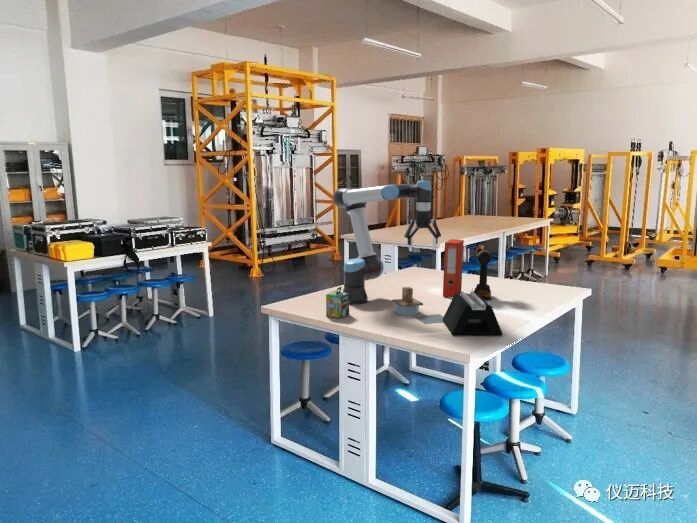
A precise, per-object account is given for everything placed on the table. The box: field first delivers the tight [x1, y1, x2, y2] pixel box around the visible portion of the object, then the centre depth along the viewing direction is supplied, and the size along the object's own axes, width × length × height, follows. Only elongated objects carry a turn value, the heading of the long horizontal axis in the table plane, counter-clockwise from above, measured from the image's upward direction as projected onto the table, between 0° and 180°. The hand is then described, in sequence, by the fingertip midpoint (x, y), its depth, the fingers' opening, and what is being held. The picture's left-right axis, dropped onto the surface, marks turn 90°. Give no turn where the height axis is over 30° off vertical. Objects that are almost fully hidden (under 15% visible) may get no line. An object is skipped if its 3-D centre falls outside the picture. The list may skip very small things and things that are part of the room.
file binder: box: [442, 238, 465, 298], centre depth 332 cm, size 8×17×32 cm, turn 159°
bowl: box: [395, 304, 420, 316], centre depth 289 cm, size 11×11×6 cm
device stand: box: [442, 290, 503, 337], centre depth 260 cm, size 22×22×15 cm
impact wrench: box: [472, 249, 492, 300], centre depth 328 cm, size 14×21×28 cm, turn 165°
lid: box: [391, 286, 424, 307], centre depth 288 cm, size 12×12×8 cm
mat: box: [411, 313, 445, 325], centre depth 278 cm, size 15×15×1 cm
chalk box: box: [325, 286, 350, 319], centre depth 285 cm, size 9×9×15 cm
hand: (422, 250), depth 299 cm, fingers open, 13 cm apart
